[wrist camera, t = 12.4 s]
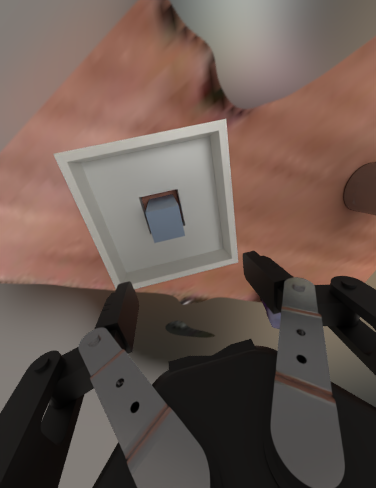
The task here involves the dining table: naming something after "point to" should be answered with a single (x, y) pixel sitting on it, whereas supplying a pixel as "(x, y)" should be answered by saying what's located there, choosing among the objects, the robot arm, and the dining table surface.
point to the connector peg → (164, 218)
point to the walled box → (152, 182)
